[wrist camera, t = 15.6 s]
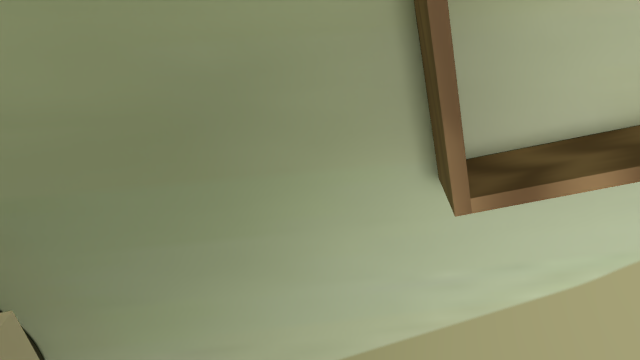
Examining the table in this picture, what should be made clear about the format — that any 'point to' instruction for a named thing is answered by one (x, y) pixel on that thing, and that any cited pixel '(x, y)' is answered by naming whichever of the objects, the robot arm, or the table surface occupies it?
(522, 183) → the walnut box
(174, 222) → the table surface
